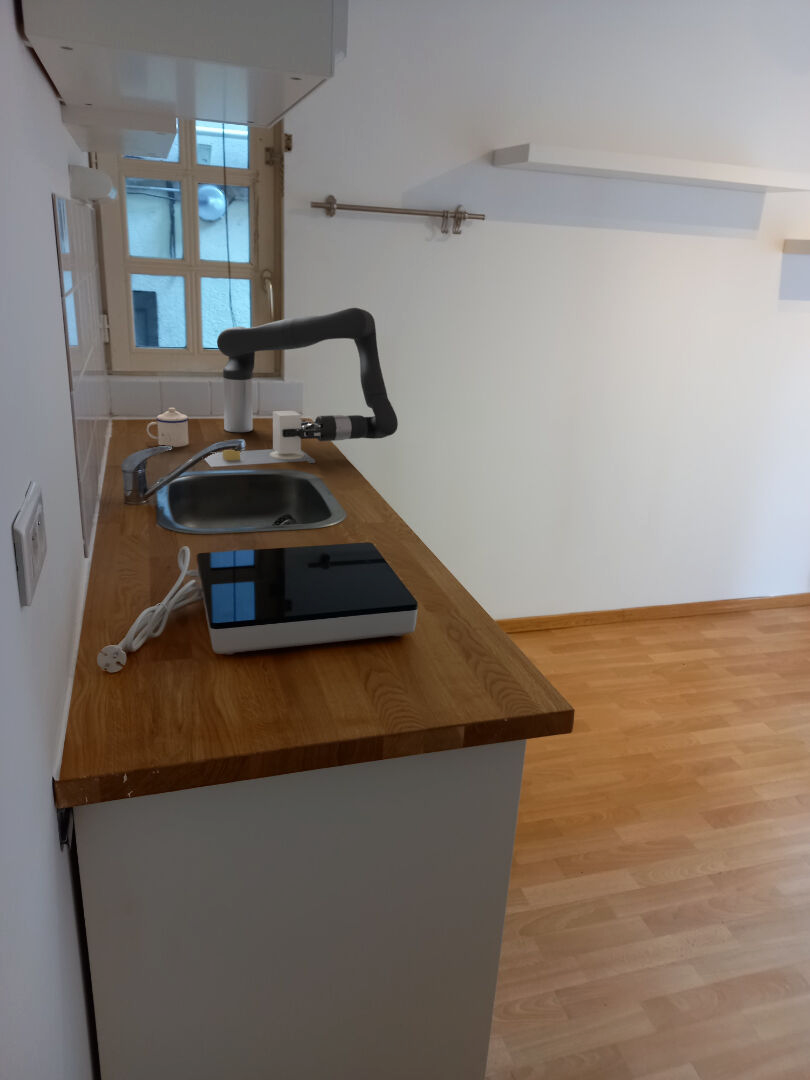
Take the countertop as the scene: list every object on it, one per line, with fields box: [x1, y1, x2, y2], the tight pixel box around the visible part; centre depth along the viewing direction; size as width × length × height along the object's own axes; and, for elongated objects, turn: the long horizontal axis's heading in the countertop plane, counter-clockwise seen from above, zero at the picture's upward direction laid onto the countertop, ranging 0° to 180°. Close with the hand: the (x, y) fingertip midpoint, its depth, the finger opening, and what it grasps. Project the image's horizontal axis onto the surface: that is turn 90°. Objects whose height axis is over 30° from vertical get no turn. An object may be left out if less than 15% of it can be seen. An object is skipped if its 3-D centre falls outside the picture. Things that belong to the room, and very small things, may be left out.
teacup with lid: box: [146, 407, 189, 448], centre depth 232 cm, size 12×9×12 cm
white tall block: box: [272, 410, 302, 454], centre depth 226 cm, size 6×6×11 cm
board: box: [203, 448, 316, 468], centre depth 225 cm, size 15×30×1 cm, turn 116°
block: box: [222, 450, 241, 461], centre depth 221 cm, size 4×4×3 cm
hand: (279, 430), depth 225 cm, fingers closed on white tall block, 6 cm apart
